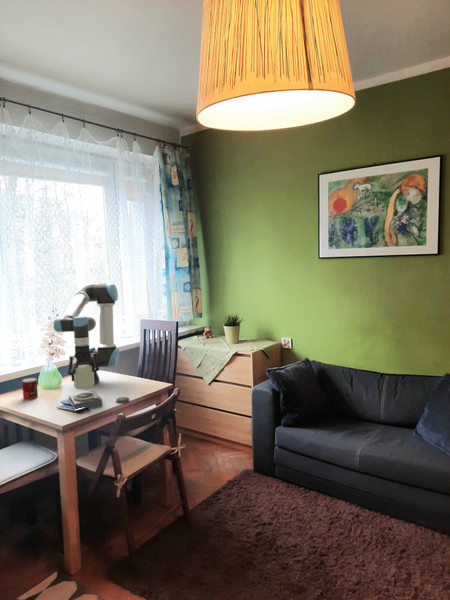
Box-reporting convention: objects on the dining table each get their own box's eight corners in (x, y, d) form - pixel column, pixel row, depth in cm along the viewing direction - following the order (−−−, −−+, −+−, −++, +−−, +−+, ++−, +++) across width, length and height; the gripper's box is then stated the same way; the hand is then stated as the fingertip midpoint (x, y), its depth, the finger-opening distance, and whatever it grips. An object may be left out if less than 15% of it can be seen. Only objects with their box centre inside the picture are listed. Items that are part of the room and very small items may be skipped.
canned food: (31, 400, 245) (29, 381, 244) (20, 399, 248) (18, 380, 247) (41, 396, 253) (39, 378, 252) (30, 395, 255) (29, 377, 254)
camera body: (69, 402, 241) (68, 393, 240) (94, 397, 248) (94, 389, 247) (75, 411, 225) (74, 401, 225) (102, 406, 232) (101, 397, 232)
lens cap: (114, 401, 240) (114, 398, 240) (125, 398, 245) (125, 396, 244) (120, 404, 235) (120, 401, 235) (131, 401, 239) (131, 399, 239)
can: (87, 389, 230) (86, 367, 229) (72, 389, 232) (70, 367, 231) (96, 384, 239) (95, 363, 238) (81, 384, 241) (80, 363, 240)
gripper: (62, 348, 225) (64, 390, 227) (103, 343, 236) (105, 383, 237) (59, 346, 232) (62, 386, 233) (100, 341, 242) (102, 380, 244)
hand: (84, 385), depth 235 cm, fingers closed on can, 9 cm apart
